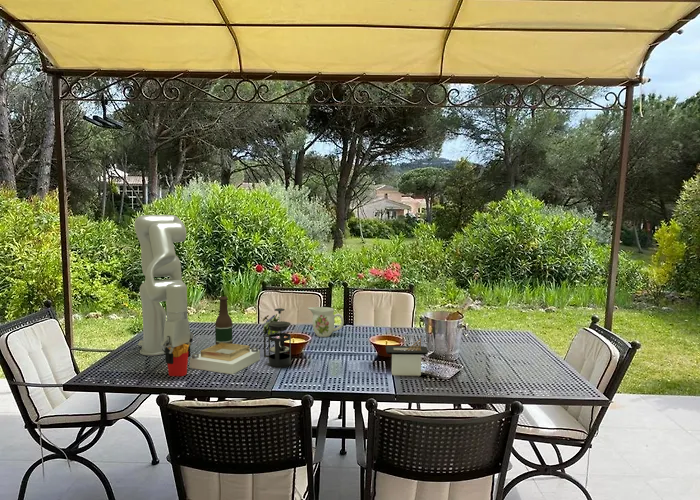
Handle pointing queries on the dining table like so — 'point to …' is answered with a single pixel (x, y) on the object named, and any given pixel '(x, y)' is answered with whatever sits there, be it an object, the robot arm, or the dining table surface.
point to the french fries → (179, 361)
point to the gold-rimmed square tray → (225, 358)
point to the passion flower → (266, 326)
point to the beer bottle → (223, 323)
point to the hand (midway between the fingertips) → (178, 359)
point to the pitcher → (324, 321)
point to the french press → (278, 344)
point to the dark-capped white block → (406, 358)
